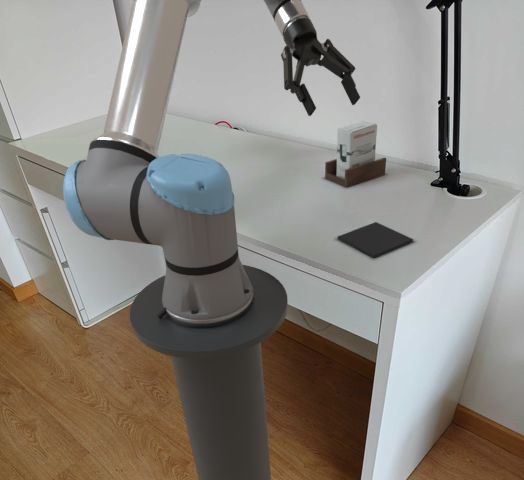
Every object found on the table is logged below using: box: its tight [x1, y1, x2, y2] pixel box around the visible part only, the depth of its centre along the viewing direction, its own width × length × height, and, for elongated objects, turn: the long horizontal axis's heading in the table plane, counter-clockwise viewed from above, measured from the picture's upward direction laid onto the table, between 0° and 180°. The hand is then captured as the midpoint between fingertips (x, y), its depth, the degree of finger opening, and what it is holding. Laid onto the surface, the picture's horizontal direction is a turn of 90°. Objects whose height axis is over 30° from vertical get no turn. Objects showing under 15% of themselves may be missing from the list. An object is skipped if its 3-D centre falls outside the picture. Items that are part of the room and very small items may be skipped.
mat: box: [337, 221, 414, 259], centre depth 95 cm, size 10×10×1 cm
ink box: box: [336, 120, 378, 179], centre depth 119 cm, size 9×5×12 cm, turn 126°
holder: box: [324, 157, 387, 188], centre depth 121 cm, size 12×8×4 cm, turn 124°
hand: (335, 106), depth 119 cm, fingers open, 13 cm apart
